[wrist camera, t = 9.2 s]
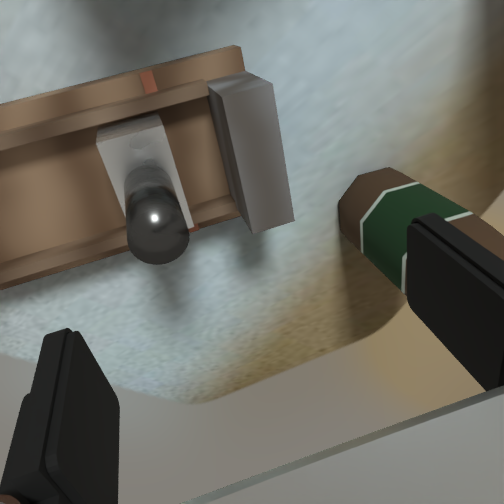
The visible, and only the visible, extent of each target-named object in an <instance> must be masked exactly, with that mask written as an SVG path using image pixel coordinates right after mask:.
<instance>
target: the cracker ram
mask: <svg viewBox="0 0 504 504" xmlns="http://www.w3.org/2000/svg"><path fill="white" fill-rule="evenodd" d="M96 145H97V147H98V150H99V152H100V155H101V157H102V160H103V162H104V165H105V167H106V170H107V172H108V175H109V177H110V180H111V183H112V185H113V188H114V190H115V193H116V195H117V198H118V200H119V203H120V205H121V208H122V210H123V213H124V215H125V218H126V232H127V243H128V247H129V249H130V251H131V252H132V254H133V255H134V256H135V257H137V258H138V259H139V260H141V261H143V262H145V263H149V264H156V265H157V264H165V263H169V262H171V261H173V260H175V259H177V258H178V257H179V256H180V255H181V254H182V253H183V252H184V251H185V249H186V248H187V245H188V242H189V230H188V229H189V228H192V227H194V224H193V221H192V218H191V215H190V211H189V208H188V205H187V201H186V198H185V195H184V192H183V188H182V185H181V182H180V179H179V175H178V172H177V169H176V166H175V162H174V159H173V156H172V153H171V149H170V146H169V143H168V139H167V136H166V133H165V130H164V126H163V124H162V121H161V119H160V117H159V114H158V112H154V113H150V114H146V115H143V116H139V117H135V118H131V119H128V120H124V121H120V122H116V123H113V124H109V125H105V126H101V127H98V131H97V138H96Z"/></svg>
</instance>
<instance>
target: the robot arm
mask: <svg viewBox="0 0 504 504" xmlns="http://www.w3.org/2000/svg"><path fill="white" fill-rule="evenodd" d="M407 300H408V303H409V306H410V308H411V309H412V310H413V312H414V313H415V314H416V315H417V316H418V317H419V318H420V319H421V320H422V321H423V322H424V324H425V325H426V326H427V327H428V328H429V329H430V330H431V331H432V332H433V333H434V335H435V336H436V337H437V338H438V339H439V340H440V341H441V342H442V343H443V344H444V346H445V347H446V348H447V349H448V350H449V351H450V352H451V353H452V354H453V355H454V357H455V358H456V359H457V360H458V361H459V362H460V363H461V364H462V365H463V366H464V367H465V369H466V370H467V371H468V372H469V373H470V374H471V375H472V376H473V377H474V378H475V380H476V381H477V382H478V383H479V384H480V385H481V386H482V387H483V388H484V389H485V390H486V392H483V393H481V394H478V395H475V396H472V397H469V398H467V399H464V400H461V401H458V402H456V403H453V404H450V405H447V406H444V407H442V408H439V409H436V410H433V411H431V412H428V413H425V414H422V415H419V416H417V417H414V418H411V419H408V420H405V421H403V422H400V423H397V424H394V425H392V426H389V427H386V428H384V429H381V430H378V431H375V432H373V433H370V434H367V435H364V436H362V437H359V438H357V439H353V440H351V441H348V442H345V443H342V444H340V445H337V446H334V447H332V448H329V449H326V450H323V451H321V452H318V453H315V454H313V455H310V456H307V457H304V458H302V459H299V460H296V461H294V462H291V463H288V464H285V465H282V466H280V467H277V468H275V469H272V470H269V471H267V472H264V473H261V474H258V475H256V476H253V477H250V478H248V479H245V480H242V481H240V482H237V483H234V484H231V485H229V486H226V487H223V488H221V489H218V490H216V491H213V492H210V493H208V494H205V495H202V496H199V497H197V498H194V499H191V500H189V501H186V502H183V503H181V504H504V261H503V260H502V259H500V258H499V257H498V256H496V255H495V254H493V253H492V252H490V251H489V250H488V249H486V248H485V247H483V246H482V245H480V244H479V243H478V242H476V241H475V240H473V239H472V238H470V237H469V236H468V235H466V234H465V233H463V232H462V231H460V230H459V229H458V228H456V227H455V226H453V225H452V224H450V223H449V222H447V221H446V220H445V219H443V218H442V217H440V216H439V215H437V214H436V213H429V214H426V215H423V216H419V217H416V218H414V219H412V222H411V225H409V226H408V227H407ZM119 415H120V407H119V402H118V398H117V396H116V394H115V392H114V391H113V389H112V387H111V385H110V384H109V382H108V380H107V378H106V377H105V375H104V373H103V372H102V370H101V368H100V366H99V365H98V363H97V361H96V359H95V358H94V356H93V354H92V352H91V351H90V349H89V347H88V346H87V344H86V342H85V340H84V339H83V337H82V335H81V334H80V332H79V331H74V332H72V331H71V330H70V329H69V328H66V329H62V330H59V331H56V332H53V333H50V334H47V335H45V337H44V339H43V343H42V347H41V351H40V355H39V359H38V363H37V367H36V372H35V376H34V380H33V384H32V388H31V392H30V393H29V394H27V395H26V396H25V397H24V399H23V401H22V404H21V408H20V412H19V416H18V419H17V423H16V427H15V431H14V434H13V438H12V443H11V446H10V450H9V454H8V458H7V461H6V465H5V469H4V473H3V477H2V480H1V484H0V504H118V468H119V418H120V416H119Z"/></svg>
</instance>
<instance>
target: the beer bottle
mask: <svg viewBox="0 0 504 504" xmlns="http://www.w3.org/2000/svg"><path fill="white" fill-rule="evenodd" d="M339 210H340V228H341V231H342V233H343V234H344V235H345V236H346V237H347V238H348V240H349V241H351V242H352V243H353V244H354V245H355V246H356V247H357V248H358V249H359V250H360V251H361V252H362V253H363V254H364V255H365V256H366V257H367V258H368V259H369V260H370V261H371V262H372V263H373V264H374V265H375V266H376V267H377V268H378V269H379V270H380V271H381V272H382V273H383V274H384V275H385V276H386V277H387V278H388V279H389V280H390V281H392V282H393V283H394V284H395V285H396V286H397V287H398V288H399V289H400V290H401V291H402V292H403V293H404V294H405V295H406V296H407V227H408V226H409V225H411V222H412V219H414V218H416V217H419V216H423V215H426V214H429V213H436V214H437V215H439V216H440V217H442V218H443V219H445V220H446V221H447V222H449V223H450V224H452V225H453V226H455V227H456V228H458V229H459V230H460V231H462V232H463V233H465V234H466V235H468V236H469V237H470V238H472V239H473V240H475V241H476V242H478V243H479V244H480V245H482V246H483V247H485V248H486V249H488V250H489V251H490V252H492V253H493V254H495V255H496V256H498V257H499V258H500V259H502V260H503V261H504V236H503V235H502V234H501V233H499V232H498V231H497V230H496V229H494V228H493V227H492V226H491V225H489V224H488V223H486V222H485V221H483V220H482V219H481V218H479V217H478V216H476V215H475V214H473V213H472V212H470V211H468V210H466V209H465V208H463V207H461V206H459V205H457V204H456V203H454V202H452V201H450V200H449V199H447V198H445V197H443V196H442V195H440V194H438V193H436V192H434V191H433V190H431V189H429V188H427V187H426V186H424V185H422V184H420V183H419V182H417V181H415V180H413V179H411V178H410V177H408V176H406V175H404V174H403V173H401V172H399V171H396V170H394V169H392V168H390V167H388V168H384V169H380V170H377V171H373V172H369V173H365V174H362V175H358V176H357V178H356V179H355V180H354V182H353V183H352V184H351V186H350V187H349V188H348V189H347V191H346V192H345V193H344V195H343V196H342V197H341V199H340V200H339Z"/></svg>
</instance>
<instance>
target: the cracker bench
mask: <svg viewBox="0 0 504 504" xmlns="http://www.w3.org/2000/svg"><path fill="white" fill-rule="evenodd" d="M154 112H158V114H159V117H160V119H161V121H162V124H163V126H164V130H165V133H166V136H167V139H168V143H169V146H170V149H171V153H172V156H173V159H174V162H175V166H176V169H177V172H178V175H179V179H180V182H181V185H182V188H183V192H184V195H185V198H186V201H187V205H188V208H189V211H190V215H191V218H192V221H193V224H194V227H192V228H189V229H188V230H189V232H190V233H191V232H194V231H198V230H199V229H200V228H203V227H207V226H210V225H213V224H216V223H220V222H223V221H226V220H229V219H232V218H236V217H239V216H242V218H243V219H244V221H245V222H246V224H247V226H248V227H249V229H250V230H251V232H252V234H255V233H258V232H261V231H264V230H268V229H271V228H274V227H277V226H280V225H283V224H287V223H290V222H293V221H295V220H294V214H293V208H292V201H291V195H290V189H289V183H288V177H287V171H286V164H285V158H284V152H283V146H282V140H281V134H280V127H279V121H278V115H277V109H276V103H275V97H274V90H273V84H272V83H270V82H268V81H266V80H264V79H262V78H259V77H257V76H255V75H253V74H251V73H249V72H247V71H245V67H244V62H243V57H242V51H241V47H238V46H235V45H232V46H228V47H224V48H220V49H216V50H213V51H209V52H205V53H201V54H197V55H193V56H189V57H185V58H181V59H177V60H173V61H169V62H165V63H161V64H157V65H153V66H149V67H145V68H141V69H137V70H133V71H129V72H126V73H122V74H118V75H114V76H110V77H106V78H102V79H98V80H94V81H90V82H86V83H82V84H78V85H74V86H70V87H66V88H62V89H58V90H54V91H50V92H46V93H42V94H39V95H35V96H31V97H27V98H23V99H19V100H15V101H11V102H7V103H3V104H0V290H3V289H6V288H9V287H12V286H16V285H19V284H22V283H25V282H29V281H32V280H35V279H38V278H41V277H45V276H48V275H51V274H54V273H58V272H61V271H64V270H67V269H71V268H74V267H77V266H80V265H84V264H87V263H90V262H93V261H97V260H100V259H103V258H106V257H109V256H113V255H116V254H119V253H122V252H126V251H129V250H130V249H129V247H128V243H127V232H126V218H125V215H124V213H123V210H122V208H121V205H120V203H119V200H118V198H117V195H116V193H115V190H114V188H113V185H112V183H111V180H110V177H109V175H108V172H107V170H106V167H105V165H104V162H103V160H102V157H101V155H100V152H99V150H98V147H97V145H96V138H97V131H98V127H101V126H105V125H109V124H113V123H116V122H120V121H124V120H128V119H131V118H135V117H139V116H143V115H146V114H150V113H154Z"/></svg>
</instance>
